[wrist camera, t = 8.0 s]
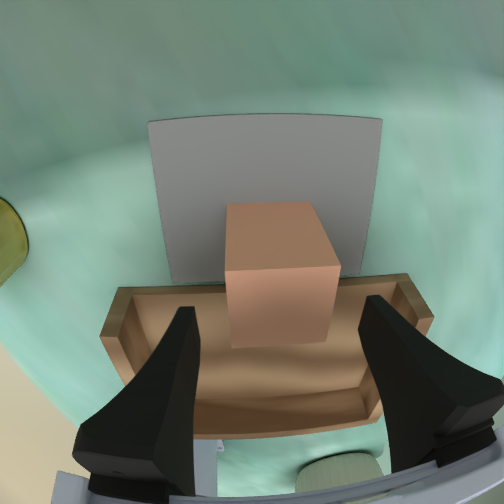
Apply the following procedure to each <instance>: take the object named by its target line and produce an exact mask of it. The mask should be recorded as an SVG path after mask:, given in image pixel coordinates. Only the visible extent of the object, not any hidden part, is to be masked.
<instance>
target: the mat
mask: <svg viewBox="0 0 504 504" xmlns="http://www.w3.org/2000/svg"><path fill="white" fill-rule="evenodd" d="M382 121H383V120H382V119H379V118H368V117H356V116H342V115H324V114H289V113H266V114H230V115H212V116H198V117H185V118H175V119H165V120H156V121H149V122H148V132H149V140H150V149H151V157H152V164H153V172H154V179H155V186H156V192H157V199H158V205H159V211H160V217H161V223H162V229H163V235H164V240H165V246H166V251H167V256H168V262H169V267H170V272H171V277H172V281H173V283H195V282H222V281H225V244H226V217H227V204H238V203H266V202H306V201H310V202H311V204H312V206H313V208H314V210H315V212H316V214H317V216H318V218H319V220H320V222H321V224H322V226H323V228H324V231H325V233H326V235H327V237H328V239H329V241H330V243H331V245H332V247H333V249H334V251H335V254H336V256H337V258H338V260H339V262H340V264H341V269H340V275H354V274H359V273H360V268H361V263H362V258H363V253H364V248H365V243H366V238H367V232H368V227H369V221H370V215H371V209H372V203H373V196H374V189H375V182H376V175H377V167H378V159H379V151H380V142H381V132H382Z"/></svg>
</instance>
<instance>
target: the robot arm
mask: <svg viewBox="0 0 504 504" xmlns="http://www.w3.org/2000/svg"><path fill="white" fill-rule="evenodd" d="M358 333H359V337H360V341H361V345H362V349H363V352H364V355H365V357H366V360H367V363H368V365H369V368H370V370H371V373H372V376H373V378H374V381H375V384H376V386H377V389H378V392H379V395H380V399H381V403H382V407H383V412H384V416H385V422H386V427H387V433H388V440H389V447H390V457H391V472H392V474H390V475H386V476H382V477H378V478H374V479H370V480H366V481H362V482H357V483H353V484H348V485H343V486H338V487H332V488H327V489H321V490H314V491H307V492H299V493H291V494H281V495H269V496H254V497H217V452H223V451H224V445H223V441H222V440H197V439H193V421H194V405H195V397H196V389H197V382H198V375H199V367H200V352H201V339H200V333H199V328H198V323H197V317H196V312H195V306H180V307H179V308H178V309H177V311H176V313H175V315H174V317H173V319H172V321H171V323H170V324H169V326H168V328H167V330H166V332H165V333H164V335H163V337H162V338H161V340H160V342H159V343H158V345H157V346H156V348H155V349H154V351H153V352H152V354H151V355H150V357H149V358H148V360H147V361H146V362H145V364H144V365H143V366H142V368H141V369H140V370H139V371H138V373H137V374H136V375H135V376H134V377H133V379H132V380H131V381H130V382H129V383H128V384H127V385H126V386H125V387H124V388H123V389H122V390H121V391H120V392H119V393H118V394H117V395H116V396H115V397H114V398H113V399H112V400H111V401H110V402H109V403H108V404H106V405H105V406H104V407H103V408H102V409H101V410H99V411H98V412H97V413H96V414H94V415H93V416H92V417H90V418H89V419H88V420H86V421H85V422H83V423H82V424H81V425H80V428H79V430H78V432H77V436H76V439H75V443H74V448H73V452H72V455H73V458H74V459H75V460H76V461H77V462H78V463H79V464H80V465H81V466H83V467H84V468H85V469H86V470H88V471H89V472H91V475H90V480H89V479H88V478H85V477H82V476H78V475H74V474H70V473H66V472H62V471H57V475H56V479H55V484H54V489H53V494H52V500H51V504H344V503H349V502H353V501H358V500H362V499H366V498H370V497H374V496H378V495H382V494H385V493H387V494H386V496H385V497H382V498H378V499H374V500H370V501H366V502H362V503H358V504H463V503H465V502H467V501H469V500H471V499H473V498H475V497H476V496H478V495H480V494H482V493H484V492H486V491H488V490H489V489H491V488H493V487H494V486H496V485H498V484H500V483H501V482H503V481H504V425H502V426H501V427H499V428H497V429H496V430H494V431H493V429H492V426H493V425H494V421H493V418H492V417H493V416H494V415H495V414H496V413H497V412H498V410H499V409H500V408H501V407H502V406H503V405H504V385H503V383H502V381H501V380H500V379H498V378H495V377H493V376H490V375H488V374H485V373H483V372H481V371H478V370H476V369H474V368H472V367H470V366H468V365H467V364H465V363H463V362H461V361H459V360H458V359H456V358H454V357H453V356H451V355H450V354H448V353H447V352H445V351H444V350H442V349H441V348H440V347H438V346H437V345H435V344H434V343H433V342H431V341H430V340H429V339H428V338H426V337H425V336H424V335H423V334H422V333H420V332H419V331H418V330H417V329H416V328H415V327H414V326H412V325H411V324H410V323H409V322H408V321H407V320H406V319H405V318H404V317H403V316H402V315H401V314H400V313H399V312H397V311H396V310H395V309H394V308H393V307H392V306H391V305H390V304H389V303H388V302H387V301H386V300H385V299H384V298H383V297H382V296H380V295H369V296H367V297H366V300H365V304H364V308H363V312H362V315H361V319H360V322H359V326H358ZM389 492H390V493H389Z"/></svg>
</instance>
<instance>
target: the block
mask: <svg viewBox="0 0 504 504" xmlns="http://www.w3.org/2000/svg"><path fill="white" fill-rule="evenodd" d="M340 269H341V264H340V262H339V260H338V258H337V256H336V254H335V251H334V249H333V247H332V245H331V243H330V241H329V239H328V237H327V235H326V233H325V231H324V228H323V226H322V224H321V222H320V220H319V218H318V216H317V214H316V212H315V210H314V208H313V206H312V204H311V202H310V201H306V202H266V203H238V204H227V217H226V244H225V281H226V293H227V304H228V315H229V326H230V337H231V347H232V348H249V347H268V346H283V345H297V344H309V343H320V342H326V341H327V336H328V331H329V327H330V322H331V317H332V312H333V307H334V302H335V297H336V291H337V286H338V281H339V275H340Z"/></svg>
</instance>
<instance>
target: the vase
mask: <svg viewBox="0 0 504 504" xmlns="http://www.w3.org/2000/svg"><path fill="white" fill-rule="evenodd" d="M27 250H28V244H27V238H26V234H25V231H24V228H23V225H22V223H21V220H20V219H19V217H18V215H17V214H16V213H15V211H14V210H13V209H12V208H11V206H10V205H9V204H7V203H6V202H5V201H4V200H2V199H0V287H1V286H2V285H3V283H4V282H5V281H6V280H7V279H8V278H9V277H10V276H11V275H12V274H13V272H14V271H15V270H16V269H17V268H18V267H20V266H21V265H22V264H23V262H24V261H25V258H26V256H27Z"/></svg>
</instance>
